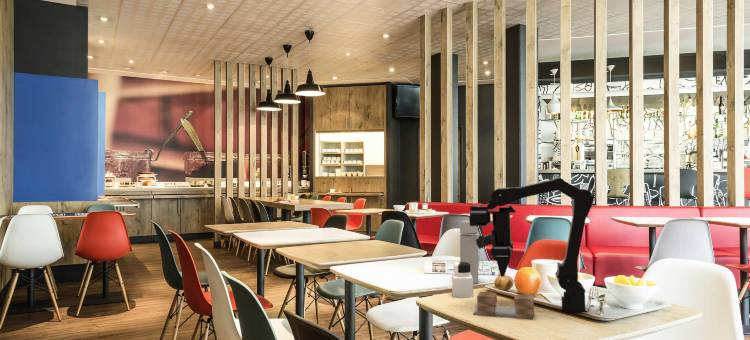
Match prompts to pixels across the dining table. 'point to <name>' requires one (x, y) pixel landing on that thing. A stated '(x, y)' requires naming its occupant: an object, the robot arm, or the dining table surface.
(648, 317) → the dining table surface
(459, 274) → the medicine bottle
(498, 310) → the rail
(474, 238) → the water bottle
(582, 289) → the robot arm
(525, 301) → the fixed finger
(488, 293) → the block
